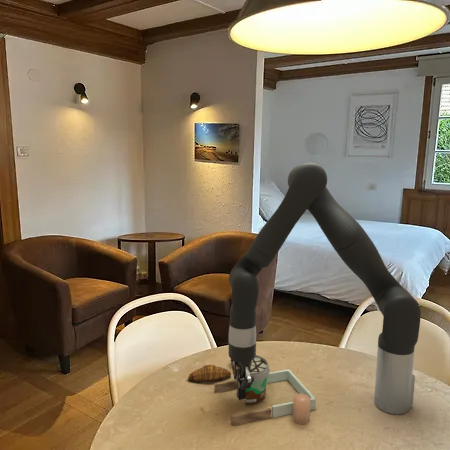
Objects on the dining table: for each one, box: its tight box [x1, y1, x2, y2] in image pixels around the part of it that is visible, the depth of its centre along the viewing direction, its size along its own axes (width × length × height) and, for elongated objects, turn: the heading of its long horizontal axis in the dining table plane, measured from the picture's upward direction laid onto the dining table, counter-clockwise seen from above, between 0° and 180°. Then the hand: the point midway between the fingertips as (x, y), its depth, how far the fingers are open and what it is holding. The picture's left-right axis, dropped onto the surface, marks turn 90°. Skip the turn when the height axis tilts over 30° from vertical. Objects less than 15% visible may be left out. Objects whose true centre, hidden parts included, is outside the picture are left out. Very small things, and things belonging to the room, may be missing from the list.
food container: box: [245, 354, 271, 406], centre depth 120 cm, size 12×6×10 cm, turn 169°
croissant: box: [187, 364, 232, 383], centre depth 130 cm, size 14×7×5 cm, turn 99°
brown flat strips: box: [213, 379, 272, 427], centre depth 117 cm, size 11×17×2 cm, turn 17°
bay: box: [266, 369, 317, 418], centre depth 121 cm, size 13×17×3 cm
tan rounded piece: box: [292, 393, 311, 425], centre depth 110 cm, size 4×4×6 cm
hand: (241, 398), depth 117 cm, fingers closed
